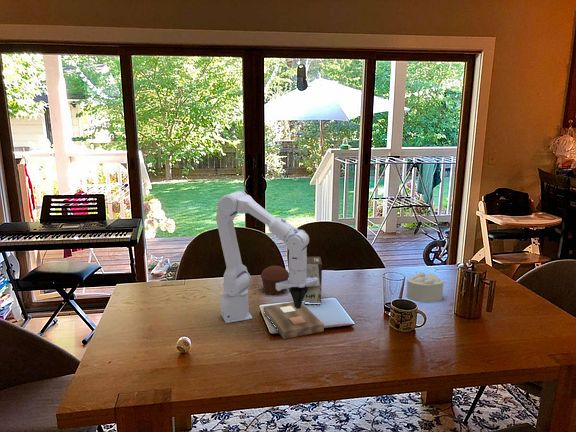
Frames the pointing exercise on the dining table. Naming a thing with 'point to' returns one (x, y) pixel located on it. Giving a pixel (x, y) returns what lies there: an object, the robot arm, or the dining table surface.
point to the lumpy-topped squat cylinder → (424, 288)
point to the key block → (287, 327)
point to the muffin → (274, 279)
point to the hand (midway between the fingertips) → (297, 307)
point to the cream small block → (287, 309)
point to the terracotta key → (297, 320)
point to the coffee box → (313, 271)
